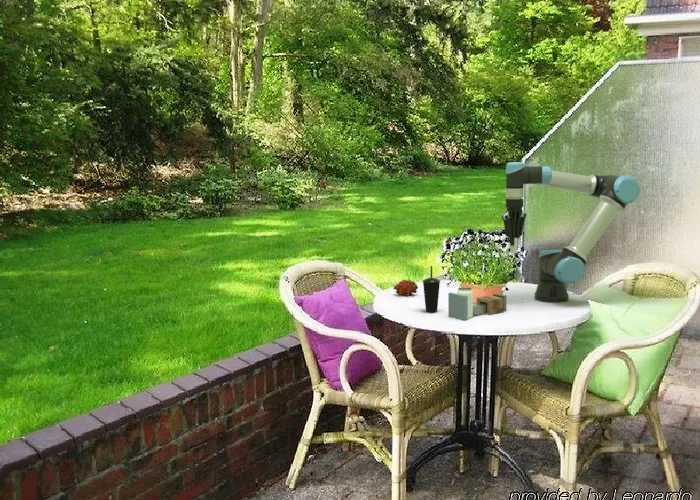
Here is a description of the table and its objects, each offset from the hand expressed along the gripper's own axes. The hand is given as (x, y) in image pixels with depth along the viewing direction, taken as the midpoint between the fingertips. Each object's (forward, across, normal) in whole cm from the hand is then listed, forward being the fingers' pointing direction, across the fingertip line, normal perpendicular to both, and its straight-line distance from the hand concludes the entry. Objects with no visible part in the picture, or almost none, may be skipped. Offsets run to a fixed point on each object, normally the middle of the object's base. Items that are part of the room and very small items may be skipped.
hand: (513, 252), depth 304 cm
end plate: (+24, +32, 0) cm, 40 cm away
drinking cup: (+25, +33, -16) cm, 44 cm away
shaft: (+24, +16, 0) cm, 29 cm away
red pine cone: (+25, +20, -51) cm, 60 cm away
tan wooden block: (+24, +14, 0) cm, 28 cm away
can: (+25, +28, 0) cm, 38 cm away
